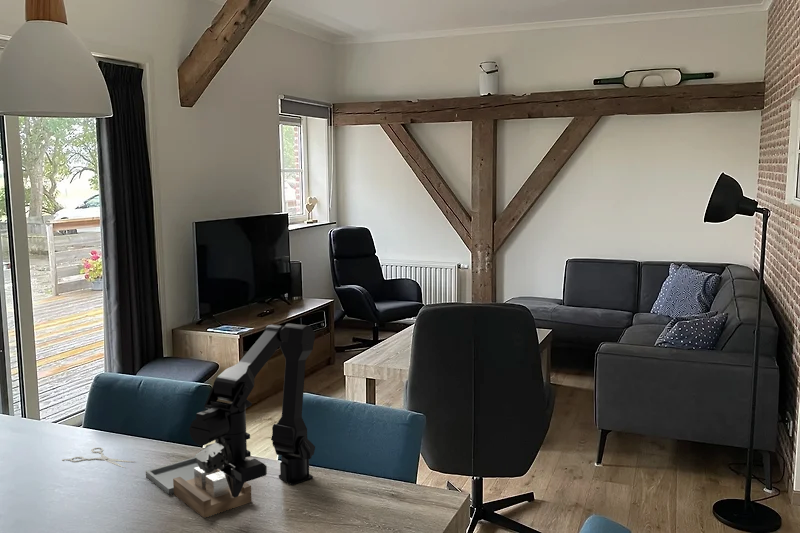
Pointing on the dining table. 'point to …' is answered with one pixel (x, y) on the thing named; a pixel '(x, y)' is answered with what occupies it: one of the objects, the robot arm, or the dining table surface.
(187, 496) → the slot block
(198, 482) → the grey metal cube
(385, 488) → the dining table surface
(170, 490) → the tray
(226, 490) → the brushed metal block
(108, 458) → the scissors
